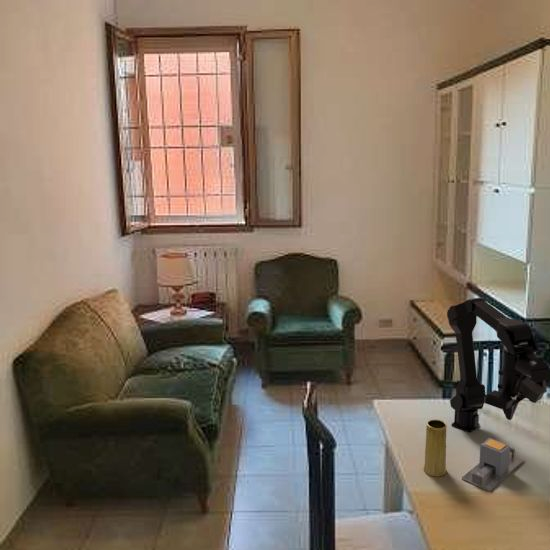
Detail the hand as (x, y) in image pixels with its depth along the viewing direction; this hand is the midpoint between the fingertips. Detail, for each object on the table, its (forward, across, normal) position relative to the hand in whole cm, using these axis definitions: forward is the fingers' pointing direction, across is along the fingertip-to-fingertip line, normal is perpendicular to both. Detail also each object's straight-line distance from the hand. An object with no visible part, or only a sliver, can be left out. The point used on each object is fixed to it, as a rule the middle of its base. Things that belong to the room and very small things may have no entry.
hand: (509, 419), depth 158 cm
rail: (+12, -8, 0) cm, 15 cm away
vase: (+13, -20, +11) cm, 26 cm away
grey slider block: (+12, -8, 0) cm, 14 cm away
